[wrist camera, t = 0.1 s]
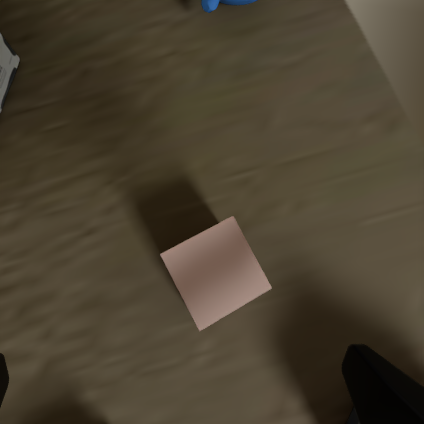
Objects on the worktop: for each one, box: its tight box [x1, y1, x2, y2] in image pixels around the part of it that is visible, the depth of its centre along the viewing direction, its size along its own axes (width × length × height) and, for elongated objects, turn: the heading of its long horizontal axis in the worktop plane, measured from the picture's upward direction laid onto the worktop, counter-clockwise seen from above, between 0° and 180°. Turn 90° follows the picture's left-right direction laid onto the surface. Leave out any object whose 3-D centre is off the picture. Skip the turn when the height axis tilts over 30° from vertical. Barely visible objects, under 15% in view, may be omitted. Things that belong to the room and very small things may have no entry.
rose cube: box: [160, 216, 272, 331], centre depth 21 cm, size 5×5×5 cm
